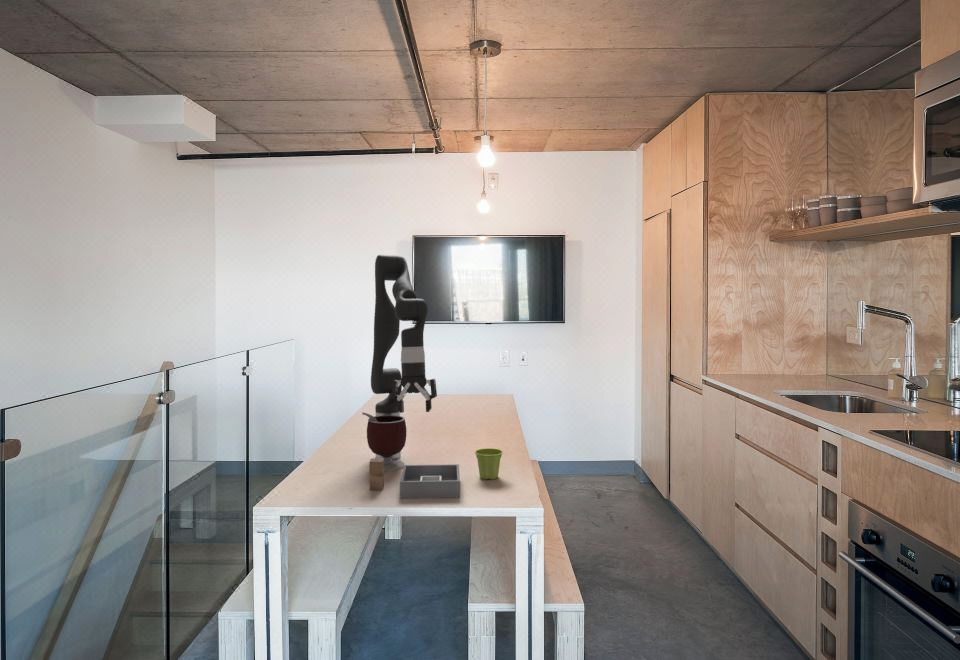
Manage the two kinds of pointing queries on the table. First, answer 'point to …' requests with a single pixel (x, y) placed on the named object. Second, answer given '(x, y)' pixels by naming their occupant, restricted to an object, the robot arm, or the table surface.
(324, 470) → the table surface
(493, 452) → the plant pot
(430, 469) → the grey square tray
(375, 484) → the brown block
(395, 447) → the mate gourd
